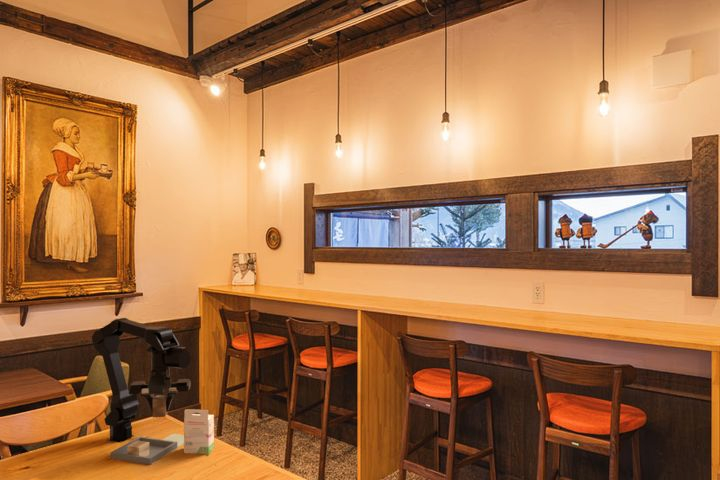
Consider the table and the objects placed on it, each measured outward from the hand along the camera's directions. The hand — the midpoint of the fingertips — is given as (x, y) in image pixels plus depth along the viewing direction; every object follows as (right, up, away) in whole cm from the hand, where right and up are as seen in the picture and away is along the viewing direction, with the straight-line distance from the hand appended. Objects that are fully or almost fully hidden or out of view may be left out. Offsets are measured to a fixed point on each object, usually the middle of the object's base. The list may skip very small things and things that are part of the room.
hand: (160, 411), depth 163 cm
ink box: (+14, -12, -3) cm, 19 cm away
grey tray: (-3, -12, -5) cm, 13 cm away
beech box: (-4, -11, -8) cm, 14 cm away
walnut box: (0, -1, 0) cm, 1 cm away
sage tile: (+3, -12, +5) cm, 13 cm away
